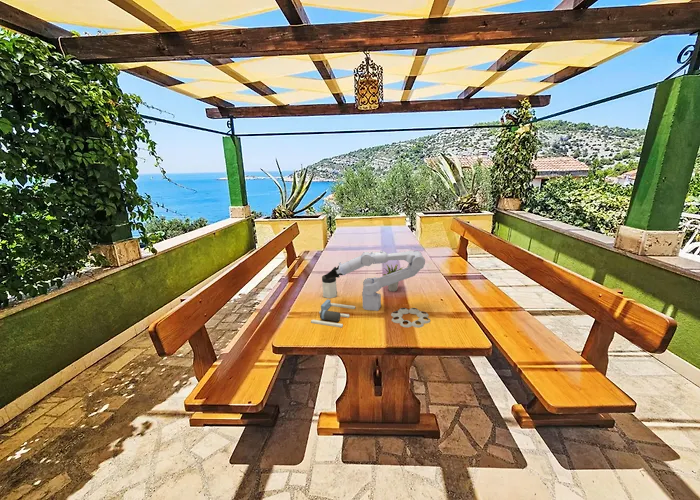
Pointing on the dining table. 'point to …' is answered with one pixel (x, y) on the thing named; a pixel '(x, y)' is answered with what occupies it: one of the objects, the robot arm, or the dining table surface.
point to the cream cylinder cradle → (326, 306)
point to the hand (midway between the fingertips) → (327, 276)
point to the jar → (329, 287)
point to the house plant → (395, 285)
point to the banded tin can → (330, 315)
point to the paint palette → (400, 320)
